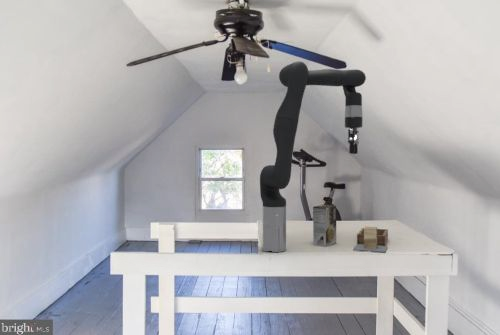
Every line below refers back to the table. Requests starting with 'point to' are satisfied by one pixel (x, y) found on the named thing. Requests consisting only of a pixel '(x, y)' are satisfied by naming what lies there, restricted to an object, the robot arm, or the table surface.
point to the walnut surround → (381, 237)
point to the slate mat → (379, 249)
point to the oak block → (370, 237)
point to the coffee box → (324, 225)
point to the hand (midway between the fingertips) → (353, 153)
